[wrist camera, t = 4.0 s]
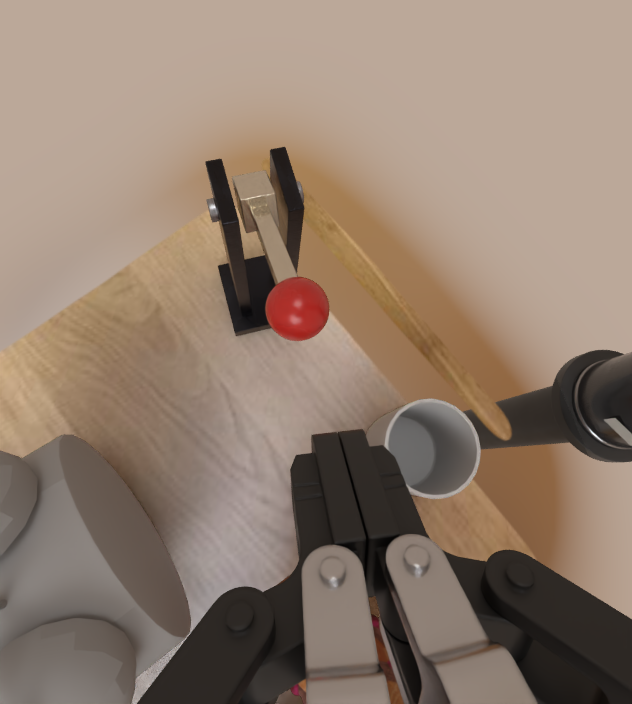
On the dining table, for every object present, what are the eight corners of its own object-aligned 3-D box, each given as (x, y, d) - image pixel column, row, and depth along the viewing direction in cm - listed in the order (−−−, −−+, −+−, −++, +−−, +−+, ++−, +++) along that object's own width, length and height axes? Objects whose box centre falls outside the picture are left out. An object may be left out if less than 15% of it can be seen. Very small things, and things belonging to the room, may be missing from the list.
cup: (447, 481, 41) (493, 485, 32) (342, 507, 39) (361, 519, 31) (425, 404, 42) (463, 389, 34) (324, 427, 41) (337, 417, 32)
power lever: (337, 344, 23) (337, 300, 20) (277, 360, 22) (269, 317, 20) (277, 206, 31) (272, 162, 28) (232, 215, 30) (222, 171, 28)
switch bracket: (306, 319, 44) (326, 223, 26) (236, 336, 42) (210, 248, 25) (287, 255, 45) (295, 126, 28) (219, 270, 44) (183, 145, 27)
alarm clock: (25, 490, 37) (-302, 522, 16) (119, 430, 39) (-64, 389, 18) (125, 668, 35) (-107, 984, 14) (220, 595, 37) (145, 773, 15)
